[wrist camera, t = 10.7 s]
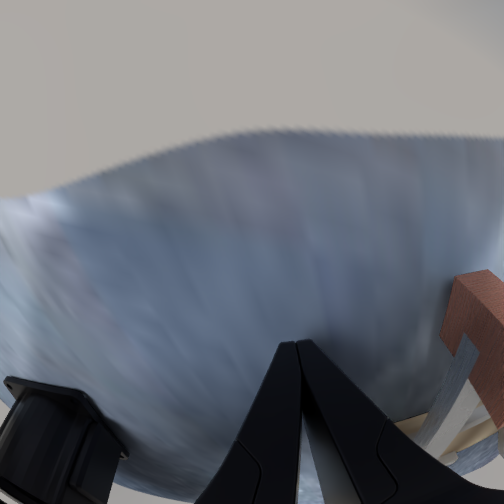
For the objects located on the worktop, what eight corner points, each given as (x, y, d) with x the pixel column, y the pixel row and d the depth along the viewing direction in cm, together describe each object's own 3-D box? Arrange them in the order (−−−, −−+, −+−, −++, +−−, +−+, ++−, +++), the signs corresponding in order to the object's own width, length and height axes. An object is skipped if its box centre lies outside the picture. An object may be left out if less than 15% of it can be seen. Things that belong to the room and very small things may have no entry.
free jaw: (370, 478, 14) (382, 531, 10) (450, 276, 8) (535, 371, 4) (397, 471, 14) (411, 521, 10) (491, 268, 7) (572, 345, 3)
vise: (324, 480, 15) (332, 543, 11) (334, 436, 12) (351, 525, 8) (525, 403, 14) (548, 441, 10) (561, 345, 12) (593, 385, 7)
